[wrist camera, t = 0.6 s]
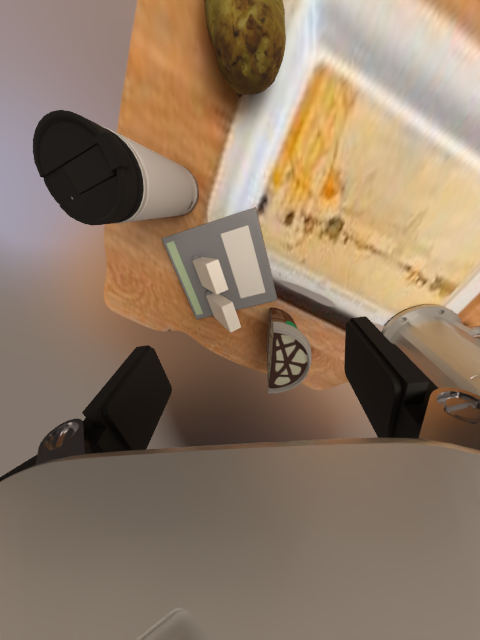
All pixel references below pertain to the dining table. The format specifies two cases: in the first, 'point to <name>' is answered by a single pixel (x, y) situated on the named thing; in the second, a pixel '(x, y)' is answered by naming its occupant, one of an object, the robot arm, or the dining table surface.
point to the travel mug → (108, 173)
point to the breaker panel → (224, 261)
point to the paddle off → (223, 311)
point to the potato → (247, 41)
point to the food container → (286, 353)
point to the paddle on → (210, 274)
